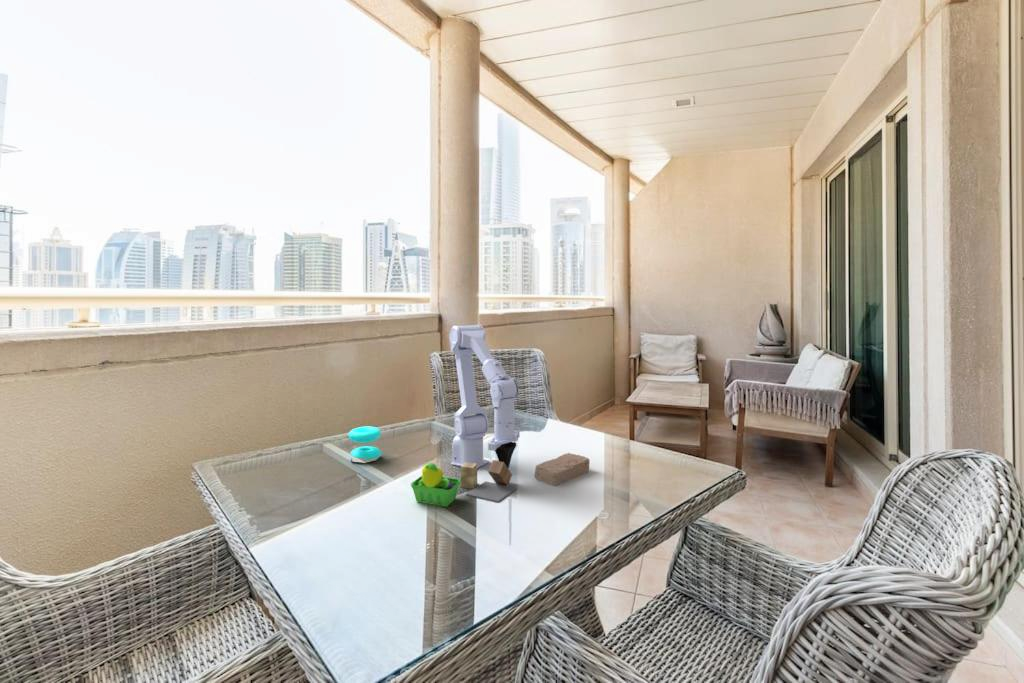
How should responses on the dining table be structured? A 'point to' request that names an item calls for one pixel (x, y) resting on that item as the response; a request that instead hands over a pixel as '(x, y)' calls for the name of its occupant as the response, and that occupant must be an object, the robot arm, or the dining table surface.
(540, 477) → the brick
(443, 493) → the fruit basket
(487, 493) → the mat
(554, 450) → the dining table surface
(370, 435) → the donuts
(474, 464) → the oak block
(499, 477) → the walnut block
